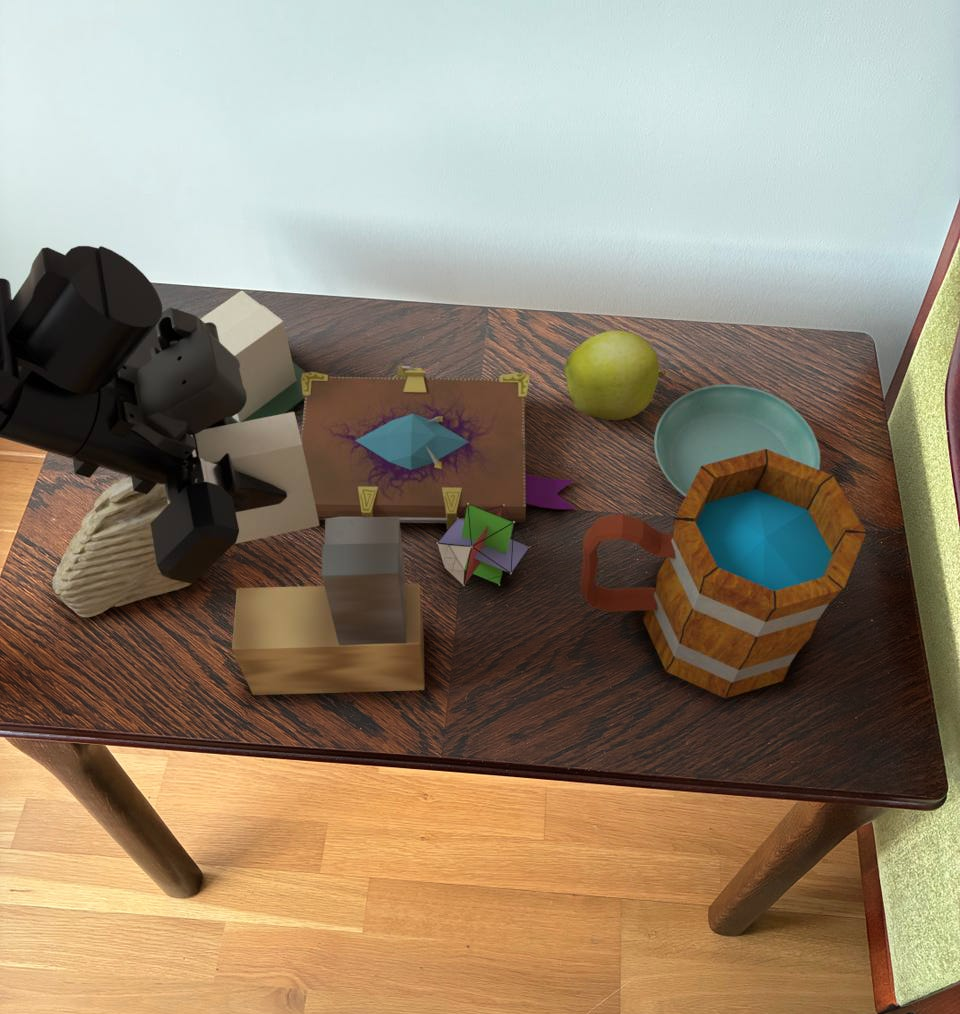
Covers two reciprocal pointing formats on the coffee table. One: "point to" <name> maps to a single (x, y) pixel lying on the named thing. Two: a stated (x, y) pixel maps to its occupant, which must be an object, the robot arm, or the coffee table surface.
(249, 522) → the cream rectangular block
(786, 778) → the coffee table surface
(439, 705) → the coffee table surface
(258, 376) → the cream and green block
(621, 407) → the apple
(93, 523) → the fossil tooth
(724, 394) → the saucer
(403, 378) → the book
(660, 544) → the mug
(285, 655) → the wood and grey block
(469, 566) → the geometric puzzle
